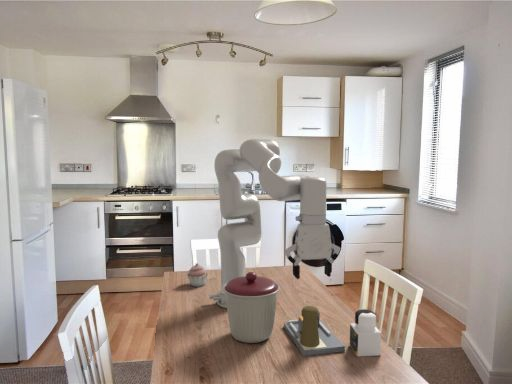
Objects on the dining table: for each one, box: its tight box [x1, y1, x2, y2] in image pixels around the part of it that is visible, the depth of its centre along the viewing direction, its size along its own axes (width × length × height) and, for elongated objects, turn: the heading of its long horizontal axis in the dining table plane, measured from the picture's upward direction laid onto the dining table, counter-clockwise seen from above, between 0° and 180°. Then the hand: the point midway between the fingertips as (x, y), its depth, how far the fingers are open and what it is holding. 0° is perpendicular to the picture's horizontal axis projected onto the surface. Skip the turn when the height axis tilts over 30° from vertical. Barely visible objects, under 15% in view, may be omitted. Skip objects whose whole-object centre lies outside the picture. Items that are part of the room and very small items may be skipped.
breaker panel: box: [283, 319, 346, 357], centre depth 129 cm, size 13×20×2 cm, turn 13°
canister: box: [223, 271, 280, 344], centre depth 129 cm, size 18×18×21 cm
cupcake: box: [186, 262, 208, 288], centre depth 179 cm, size 9×9×10 cm
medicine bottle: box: [349, 308, 382, 358], centre depth 120 cm, size 7×7×12 cm
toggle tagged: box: [297, 315, 303, 334], centre depth 128 cm, size 3×4×5 cm
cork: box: [300, 305, 320, 347], centre depth 122 cm, size 6×6×11 cm
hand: (312, 276), depth 120 cm, fingers open, 9 cm apart
